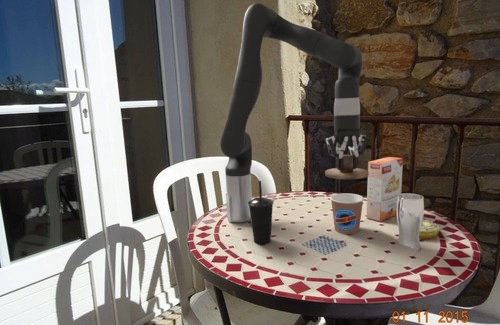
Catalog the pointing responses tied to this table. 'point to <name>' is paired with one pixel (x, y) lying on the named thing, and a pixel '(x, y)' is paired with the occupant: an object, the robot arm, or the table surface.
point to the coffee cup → (347, 212)
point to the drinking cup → (261, 218)
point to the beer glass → (410, 219)
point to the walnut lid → (347, 170)
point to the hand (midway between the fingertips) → (346, 169)
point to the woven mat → (325, 244)
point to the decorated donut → (428, 230)
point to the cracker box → (383, 187)
